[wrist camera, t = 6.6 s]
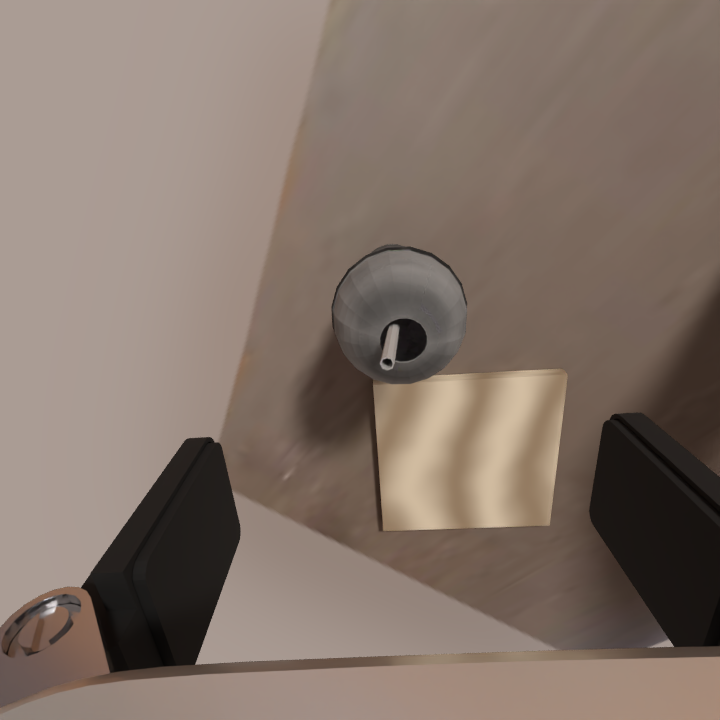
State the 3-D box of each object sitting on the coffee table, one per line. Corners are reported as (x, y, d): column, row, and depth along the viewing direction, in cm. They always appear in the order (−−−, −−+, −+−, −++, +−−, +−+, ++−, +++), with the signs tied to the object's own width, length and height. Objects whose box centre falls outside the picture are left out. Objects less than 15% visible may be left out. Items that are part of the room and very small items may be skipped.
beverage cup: (391, 335, 35) (410, 501, 17) (325, 275, 34) (266, 388, 15) (457, 271, 33) (560, 382, 15) (390, 203, 31) (413, 234, 13)
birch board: (561, 368, 36) (567, 374, 35) (544, 516, 42) (549, 525, 41) (373, 378, 37) (373, 384, 36) (383, 522, 43) (383, 531, 42)
